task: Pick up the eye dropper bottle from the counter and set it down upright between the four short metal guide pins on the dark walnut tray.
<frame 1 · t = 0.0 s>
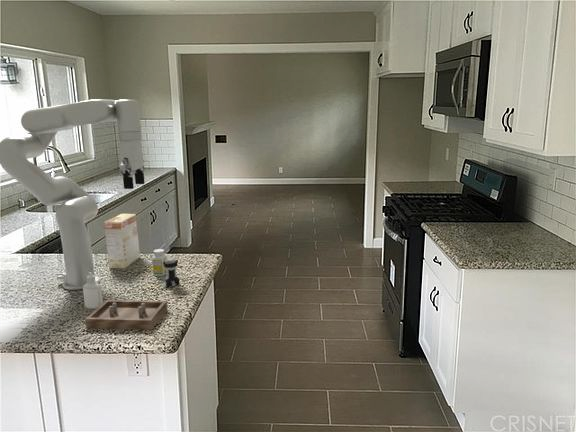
hand: (134, 186, 168), 37 cm above the countertop, tool pointing down, fingers open, 9 cm apart
eye dropper bottle: (94, 307, 158), on the countertop
pin tray: (128, 318, 148), on the countertop
supplement bottle: (160, 274, 188), on the countertop
coffeecake box: (125, 263, 202), on the countertop
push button: (170, 286, 175), on the countertop
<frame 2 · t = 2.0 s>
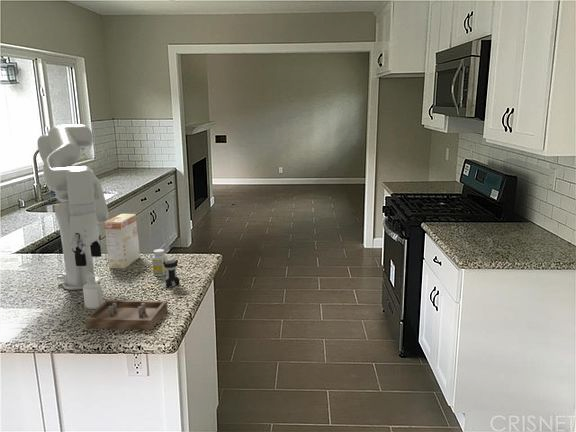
hand: (89, 261, 153), 16 cm above the countertop, tool pointing down, fingers open, 9 cm apart
nothing on the countertop moved.
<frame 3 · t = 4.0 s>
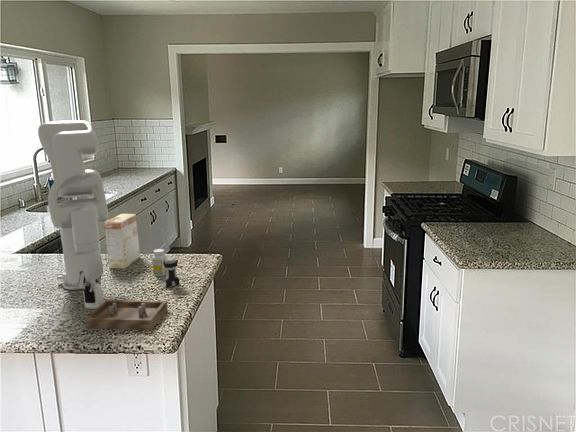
hand: (93, 299, 157), 3 cm above the countertop, tool pointing down, fingers closed on eye dropper bottle, 3 cm apart
eye dropper bottle: (94, 307, 158), on the countertop, touching gripper
everything else where it was.
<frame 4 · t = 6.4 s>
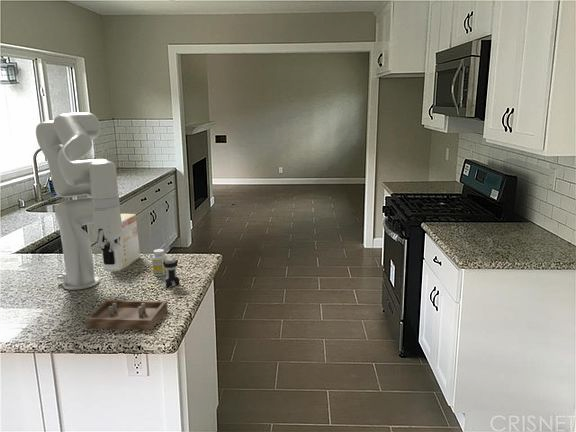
hand: (112, 261, 147), 18 cm above the countertop, tool pointing down, fingers closed on eye dropper bottle, 3 cm apart
eye dropper bottle: (113, 270, 147), point 15 cm above the countertop, touching gripper
everything else where it was.
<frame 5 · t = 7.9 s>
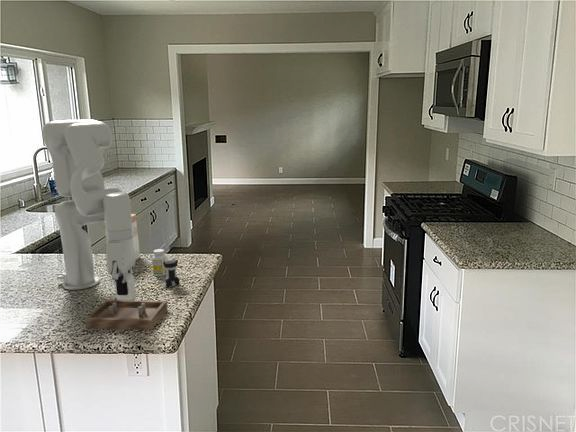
hand: (125, 291, 146), 9 cm above the countertop, tool pointing down, fingers closed on eye dropper bottle, 3 cm apart
eye dropper bottle: (126, 300, 147), point 6 cm above the countertop, touching gripper
everything else where it was.
when the fingers open (5 cm above the countertop, at t = 8.9 s): eye dropper bottle stays where it is, resting on pin tray.
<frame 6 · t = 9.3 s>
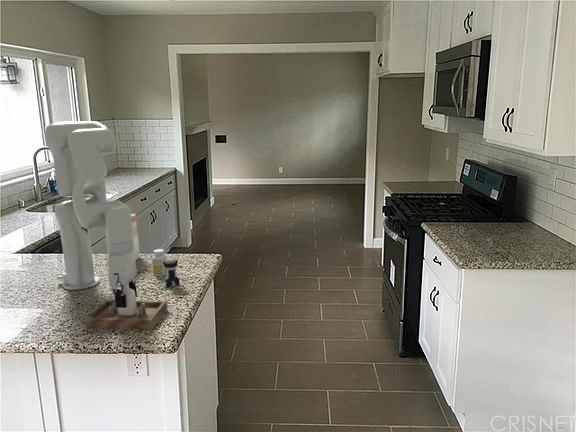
hand: (126, 301, 147), 6 cm above the countertop, tool pointing down, fingers open, 7 cm apart
eye dropper bottle: (127, 314, 148), point 1 cm above the countertop, touching pin tray
everything else where it was.
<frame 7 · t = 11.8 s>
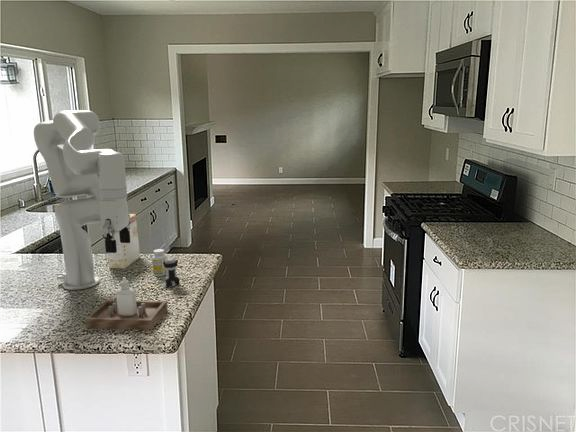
hand: (118, 247, 149), 21 cm above the countertop, tool pointing down, fingers open, 9 cm apart
nothing on the countertop moved.
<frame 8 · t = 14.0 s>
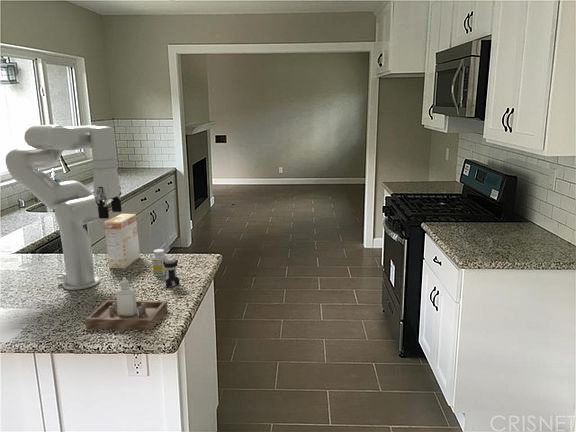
hand: (110, 214, 162), 28 cm above the countertop, tool pointing down, fingers open, 9 cm apart
nothing on the countertop moved.
at the end: eye dropper bottle 0.3 cm off-centre on the pin tray, point 1.3 cm above the pin tray's base; eye dropper bottle tilted 0°; the gripper is holding nothing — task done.
